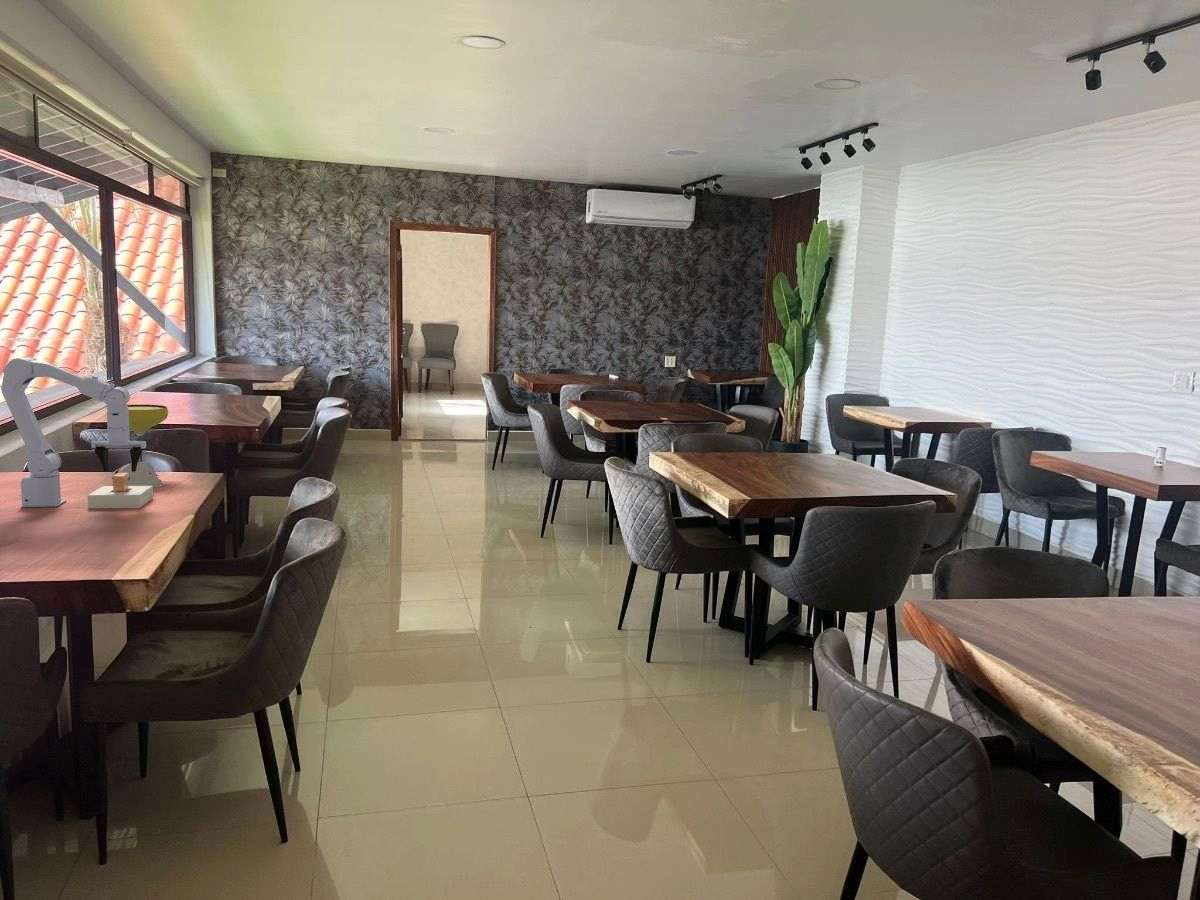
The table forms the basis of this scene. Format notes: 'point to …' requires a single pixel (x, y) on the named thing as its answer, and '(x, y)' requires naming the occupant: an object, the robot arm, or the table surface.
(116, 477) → the t-shaped block
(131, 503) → the well block
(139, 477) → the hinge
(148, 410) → the cocktail glass
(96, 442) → the robot arm
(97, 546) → the table surface
